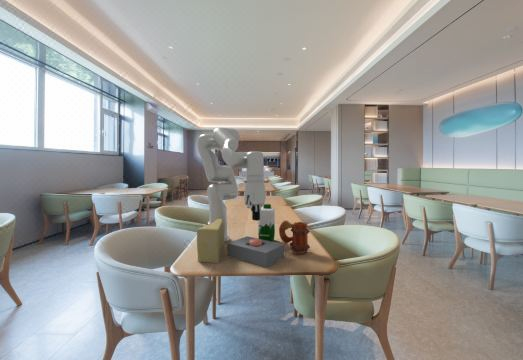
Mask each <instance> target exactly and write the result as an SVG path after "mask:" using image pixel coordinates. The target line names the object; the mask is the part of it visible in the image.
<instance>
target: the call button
mask: <svg viewBox="0 0 523 360" xmlns="http://www.w3.org/2000/svg"><path fill="white" fill-rule="evenodd" d="M249 245H250V246H254V247H258V246H261V245H262V240H261V239H259V238H257V239H250V240H249Z"/></svg>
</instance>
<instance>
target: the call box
mask: <svg viewBox="0 0 523 360" xmlns="http://www.w3.org/2000/svg"><path fill="white" fill-rule="evenodd" d="M250 239H258V238H256V237H252V236H248V235H247V236H243V237H242V238H239V239H235V240H232V241H230V242H229V241H228V242H226V243H227V246H226V249H227V254H226V256H227V257H230V258H234V259H236V260H239V261H244V262H246V263H250V264H254V265H257V266H260V267H263V268H267V267H270V266H271V265H273V264H275V263H277V262H278V261H280V260H282V259H284V258H285V243H279V242H275V241H273V242H271V241H266V240H262V239H261V240H262V245H261V246H258V247H254V246H250V245H249V240H250Z"/></svg>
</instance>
